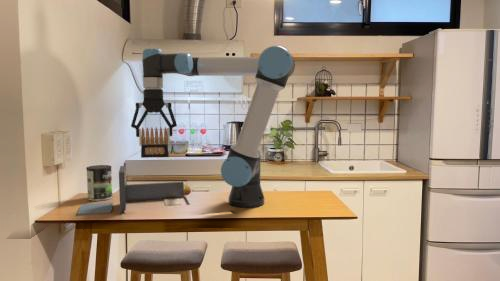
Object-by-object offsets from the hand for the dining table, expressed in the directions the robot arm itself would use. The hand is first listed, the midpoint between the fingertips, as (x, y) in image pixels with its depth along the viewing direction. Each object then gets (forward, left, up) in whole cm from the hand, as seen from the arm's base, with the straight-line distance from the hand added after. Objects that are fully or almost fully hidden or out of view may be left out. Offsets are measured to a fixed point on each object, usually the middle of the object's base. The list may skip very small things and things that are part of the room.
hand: (154, 144), depth 155 cm
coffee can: (+23, -22, -25) cm, 41 cm away
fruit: (-11, -16, -26) cm, 32 cm away
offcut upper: (-7, 0, -25) cm, 26 cm away
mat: (+23, -3, -25) cm, 34 cm away
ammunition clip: (0, 0, -5) cm, 5 cm away
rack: (0, 0, -25) cm, 25 cm away
